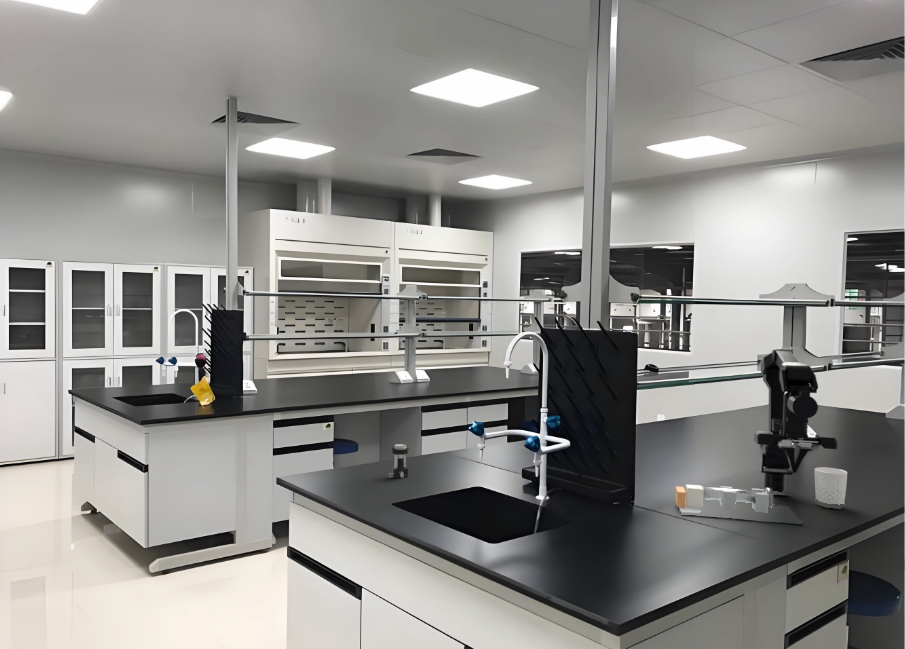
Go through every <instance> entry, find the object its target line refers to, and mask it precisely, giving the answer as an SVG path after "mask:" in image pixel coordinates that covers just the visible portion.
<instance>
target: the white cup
mask: <svg viewBox="0 0 905 649" xmlns="http://www.w3.org/2000/svg"><path fill="white" fill-rule="evenodd" d="M847 480H848V471H847V470H844V469H840V468H835V467H828V466H827V467H826V466H824V467H823V466H821V467H815V468H814V488H815V490H814V493H815V500H816V499H817V500H818V501H820V502H823V503H827V504H838V505H840V504H844V505H845V499H846V493H847V492H846V491H847V483H848V482H847Z"/></svg>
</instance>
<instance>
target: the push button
mask: <svg viewBox="0 0 905 649" xmlns="http://www.w3.org/2000/svg"><path fill="white" fill-rule="evenodd" d="M409 449H410V448H409V447H407V444H403V443H399V444H398V443H397V444H394V447H392V448H391V451H392V452H391V453H392V454H393V455H394V462H393V465H394V466H393V468H392V469H391V472H390V473H389V472H388V475H390V476H388V478H393V479H401V478H408V477H409V469H408V468H407V465H406V458H407V457H406V455H408V454H409ZM399 477H401V478H399Z"/></svg>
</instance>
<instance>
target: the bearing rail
mask: <svg viewBox="0 0 905 649" xmlns="http://www.w3.org/2000/svg"><path fill="white" fill-rule="evenodd" d="M719 488H724V489H734V488H733V487H732V486H725V485H719ZM751 490H752V491H765V490H764V489H760V488H755V487H753V488H751ZM674 496H675V498H674V499H675V500H674V501H675V504H676V506H677V508H678V507H679V508H680V511H681V513H700V512H701V510H699V509H698V508H697V507H687V505H686V489H685V487H684V486H675V495H674ZM719 501H720V505H721V507H722V509H723V510H735V504H736V502H737V501H736V492H735V491H723V500H719ZM751 503H752V508H753V509H754V510H755V512H763V513H768V507H769V495H768V494H763V493H756V496H755V502H751ZM680 511H679V512H680Z"/></svg>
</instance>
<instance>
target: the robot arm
mask: <svg viewBox="0 0 905 649" xmlns="http://www.w3.org/2000/svg"><path fill="white" fill-rule="evenodd" d="M760 373H761V375H762V381H763V382H764V384H765V386H766V388H768V431H767V430H756V431H755V432H754V441H755V443H756V444H757V445H762V452H760V455H759V458H758V462H757V468H758V471H759V472H760V474H763V488H772V491H778V492H783V490H785V491H786V476H787V475H788V476H792V475H794V474H797V472H798V470H799V468H800V465H801V464H802V461H803V460H804V458H805V457H806V455H807V454H808V452H812V451H813V448H812V445H815V446H816V445H817V446H821V447H822V448H823V449H826V450H837V449H838V443H839V442H838V440H837V438H836V437H834V436H832V435H831V434H817V433H816V434H815V436H814V437H813V436H812V437H811V436H809V435H808V426H809V424H808V423H809V419H810V418H813V417H814V416H815V415H816V414H817V412H818V409H819V405H818V402H817V400H816V399H815V398H814V397H812V396H811V394H817V392H818V389H819V384H818V380H817V376H816V374H815V371H814V369H812V367H811V366H810V365H809V364H807V363H801V362H799V360H798V359H797V358H796V356H795V355H794V351H793V349H790V348H774V349H772V351H771V353H769V354H767V355H766V356H764V357H762V361H761V365H760ZM793 444H795V445H794V447H793Z"/></svg>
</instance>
